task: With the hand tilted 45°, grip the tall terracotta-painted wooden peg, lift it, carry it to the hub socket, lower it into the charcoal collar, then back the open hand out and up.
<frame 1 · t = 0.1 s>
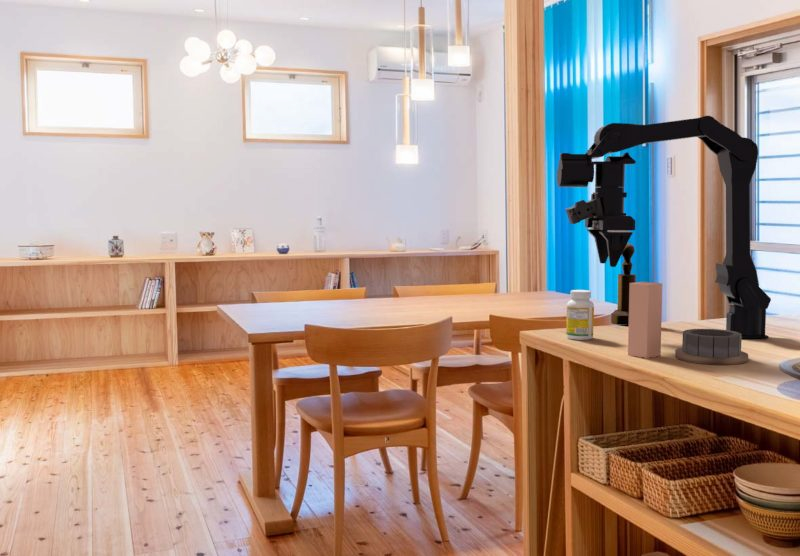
hand: (607, 265, 168), 15 cm above the table, tool pointing down, fingers open, 9 cm apart
supplement bottle: (579, 339, 168), on the table
hub socket: (711, 358, 146), on the table
dark wooden chess piece: (626, 324, 188), on the table
terracotta peg: (644, 355, 149), on the table
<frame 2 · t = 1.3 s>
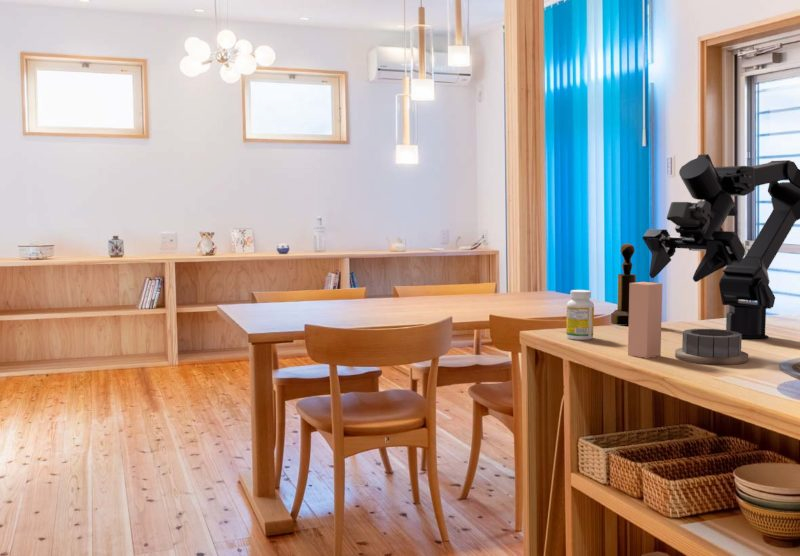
hand: (672, 278, 152), 13 cm above the table, tool tilted 45°, fingers open, 9 cm apart
nothing on the table moved.
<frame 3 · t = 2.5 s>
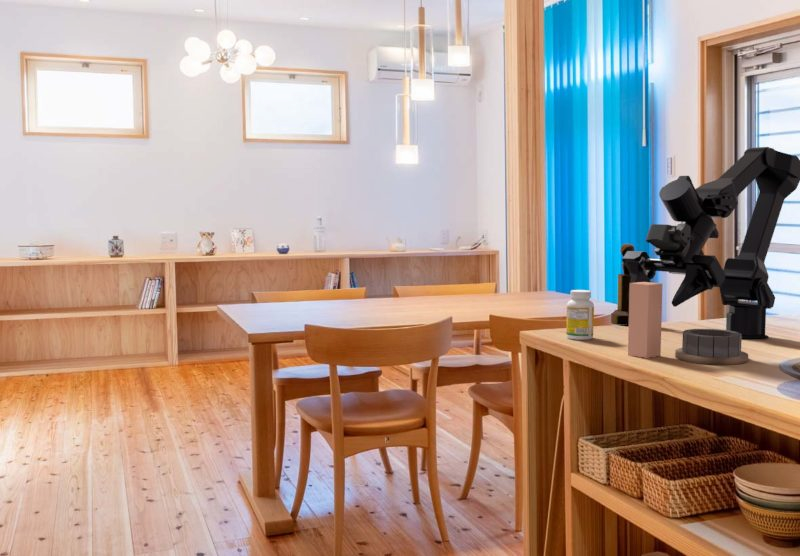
hand: (651, 302, 149), 9 cm above the table, tool tilted 45°, fingers open, 9 cm apart
nothing on the table moved.
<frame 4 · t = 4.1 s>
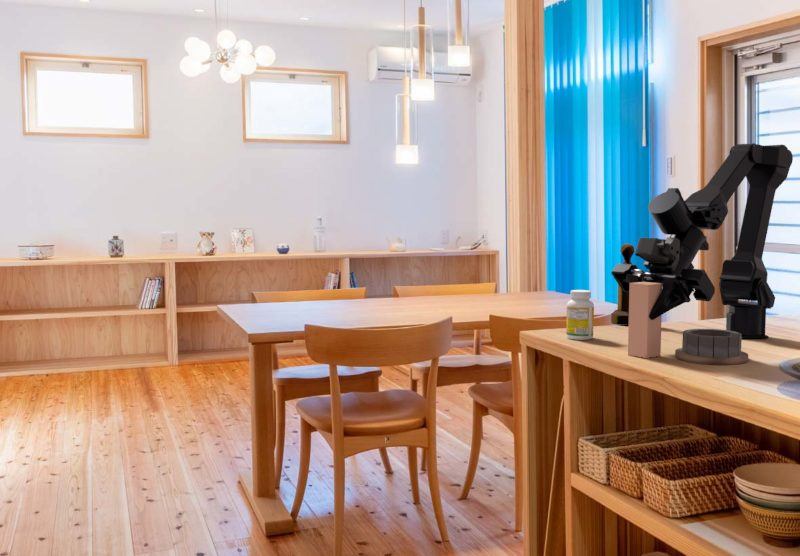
hand: (640, 316, 147), 7 cm above the table, tool tilted 45°, fingers closed on terracotta peg, 4 cm apart
terracotta peg: (644, 355, 149), on the table, touching gripper
everything else where it was.
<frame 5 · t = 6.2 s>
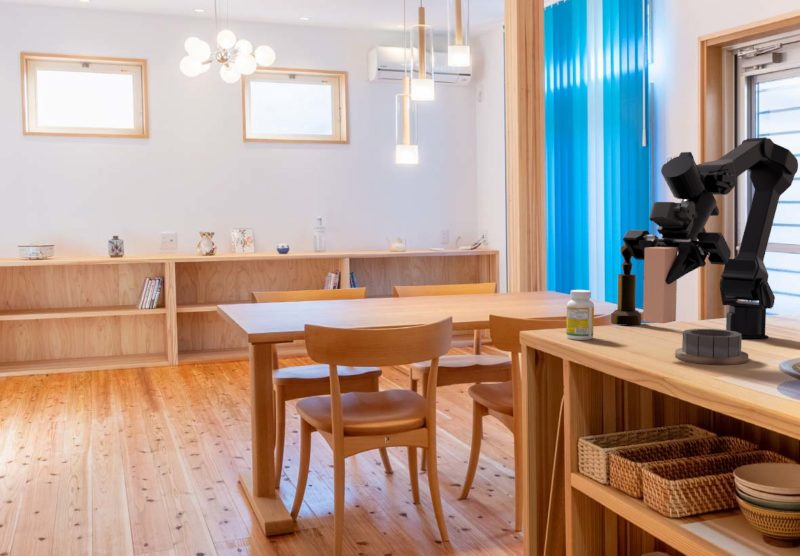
hand: (656, 281, 146), 13 cm above the table, tool tilted 45°, fingers closed on terracotta peg, 4 cm apart
terracotta peg: (659, 321, 148), point 6 cm above the table, touching gripper
everything else where it was.
when the fingers open (9 cm above the table, at t = 8.3 s): terracotta peg stays where it is, resting on hub socket.
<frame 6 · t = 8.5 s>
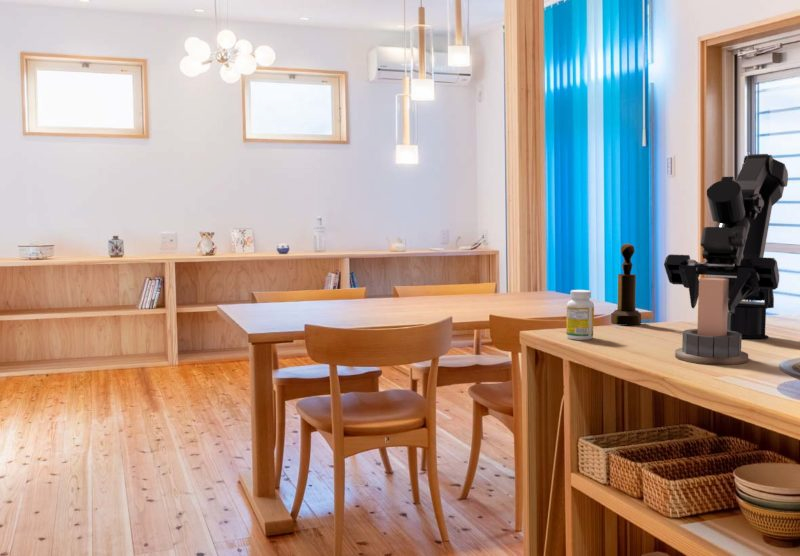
hand: (710, 307, 144), 9 cm above the table, tool tilted 45°, fingers open, 6 cm apart
terracotta peg: (711, 352, 146), point 1 cm above the table, touching hub socket
everything else where it was.
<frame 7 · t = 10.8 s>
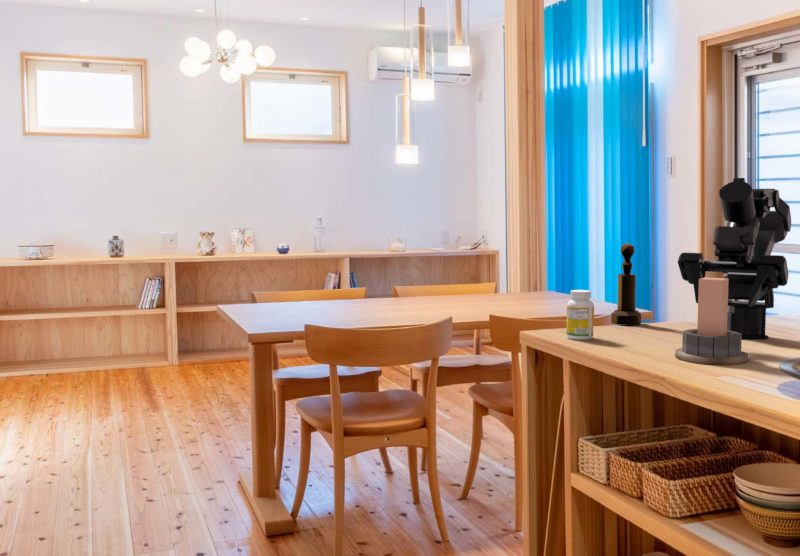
hand: (722, 303, 151), 9 cm above the table, tool tilted 45°, fingers open, 9 cm apart
nothing on the table moved.
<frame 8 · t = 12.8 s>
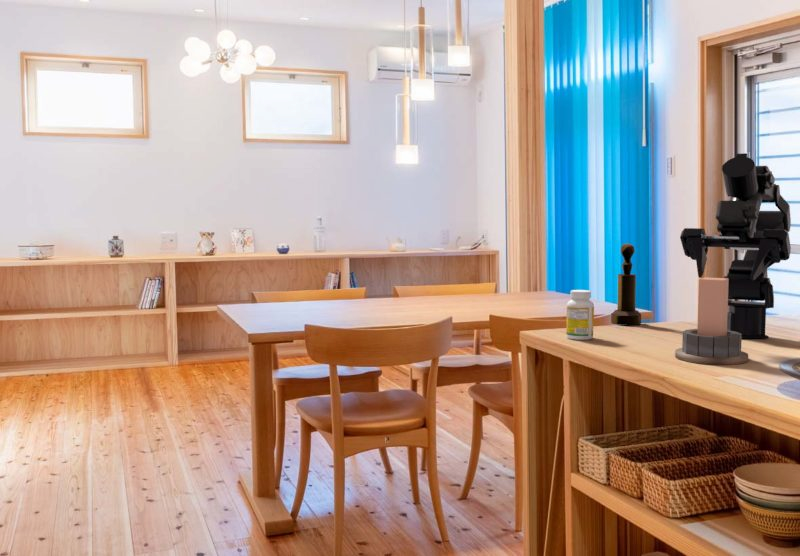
hand: (725, 277, 151), 14 cm above the table, tool tilted 45°, fingers open, 9 cm apart
nothing on the table moved.
at the end: terracotta peg 0.0 cm off-centre on the hub socket, point 1.0 cm above the hub socket's base; terracotta peg tilted 0°; the gripper is holding nothing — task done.
